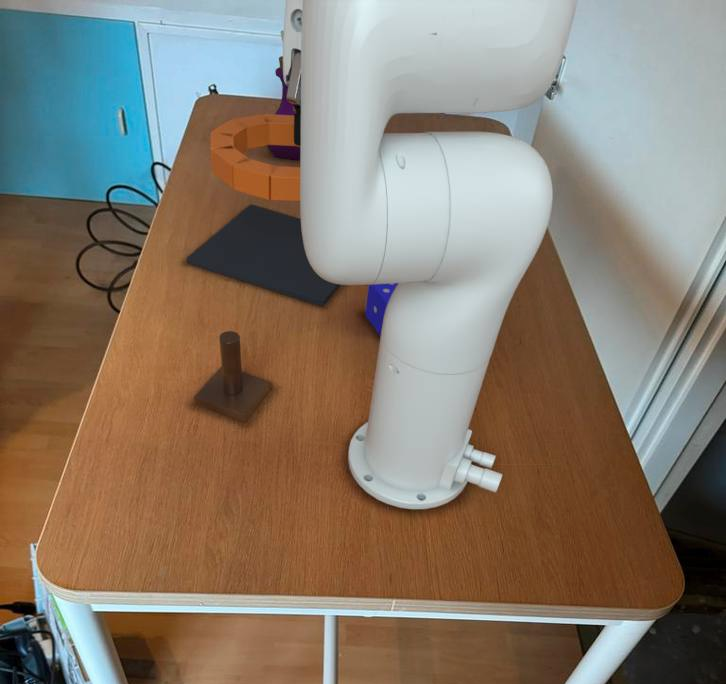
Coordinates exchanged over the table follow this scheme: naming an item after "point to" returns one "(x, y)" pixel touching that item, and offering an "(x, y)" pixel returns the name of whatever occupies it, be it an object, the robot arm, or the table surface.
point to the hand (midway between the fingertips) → (311, 140)
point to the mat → (264, 255)
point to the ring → (252, 173)
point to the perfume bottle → (284, 109)
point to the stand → (232, 384)
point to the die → (378, 303)
